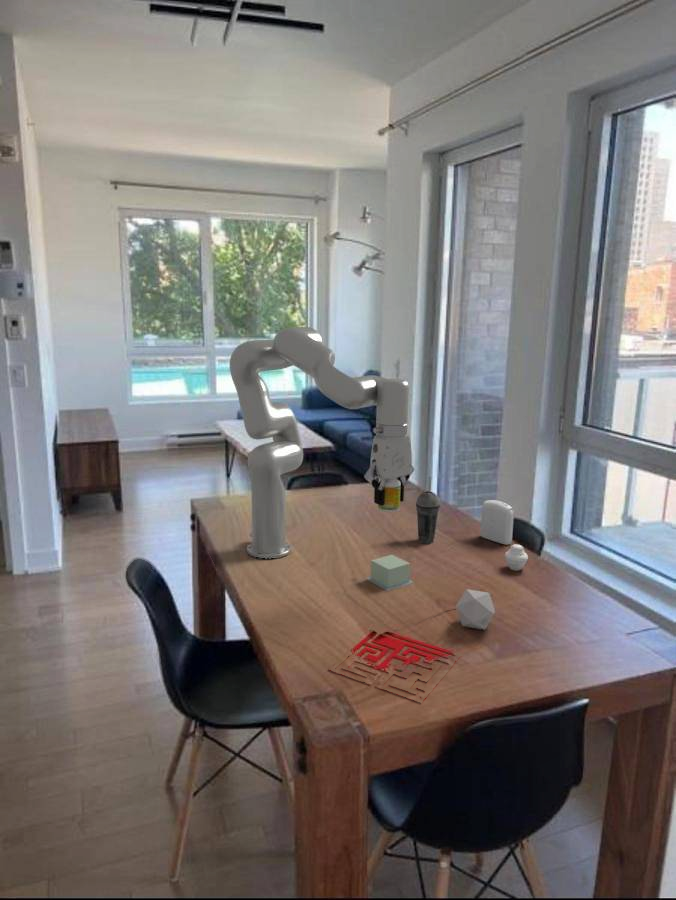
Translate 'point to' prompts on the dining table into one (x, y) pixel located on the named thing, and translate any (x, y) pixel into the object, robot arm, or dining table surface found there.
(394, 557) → the base block
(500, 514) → the photo printer
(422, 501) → the beverage cup
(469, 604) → the die
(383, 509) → the supplement bottle
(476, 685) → the dining table surface
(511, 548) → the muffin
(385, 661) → the maze puzzle
